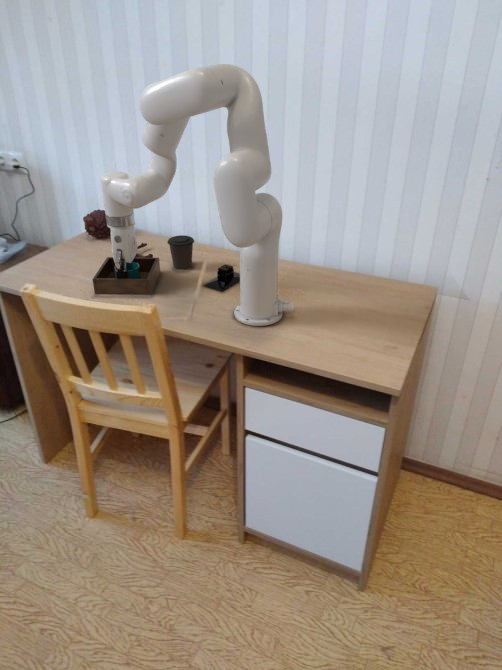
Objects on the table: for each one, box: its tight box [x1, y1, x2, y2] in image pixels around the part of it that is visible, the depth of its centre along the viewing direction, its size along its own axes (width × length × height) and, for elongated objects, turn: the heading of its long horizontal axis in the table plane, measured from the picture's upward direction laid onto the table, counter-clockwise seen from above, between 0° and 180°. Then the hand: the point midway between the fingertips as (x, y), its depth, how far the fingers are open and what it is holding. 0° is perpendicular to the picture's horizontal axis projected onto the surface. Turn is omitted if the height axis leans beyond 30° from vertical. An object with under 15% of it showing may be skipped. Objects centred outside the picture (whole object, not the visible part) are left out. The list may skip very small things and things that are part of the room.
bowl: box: [114, 262, 141, 279], centre depth 154 cm, size 7×7×5 cm
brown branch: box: [135, 242, 154, 258], centre depth 171 cm, size 18×4×14 cm
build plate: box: [203, 263, 240, 293], centre depth 156 cm, size 12×7×5 cm, turn 145°
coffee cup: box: [166, 234, 195, 271], centre depth 163 cm, size 8×8×10 cm
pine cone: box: [82, 209, 111, 239], centre depth 188 cm, size 18×10×10 cm
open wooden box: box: [92, 256, 161, 296], centre depth 154 cm, size 16×16×5 cm
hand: (127, 276), depth 154 cm, fingers open, 9 cm apart
